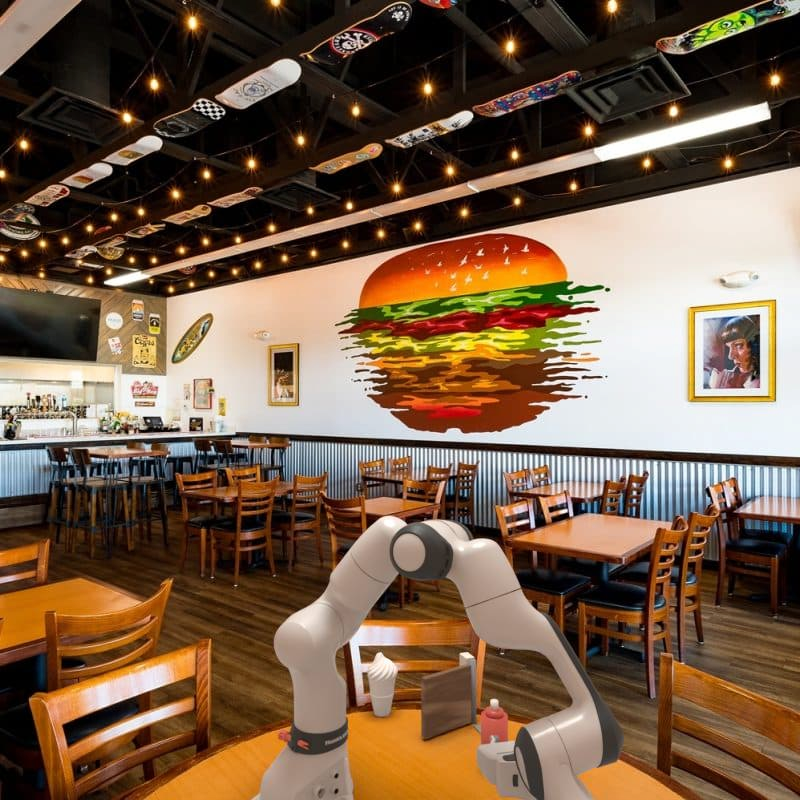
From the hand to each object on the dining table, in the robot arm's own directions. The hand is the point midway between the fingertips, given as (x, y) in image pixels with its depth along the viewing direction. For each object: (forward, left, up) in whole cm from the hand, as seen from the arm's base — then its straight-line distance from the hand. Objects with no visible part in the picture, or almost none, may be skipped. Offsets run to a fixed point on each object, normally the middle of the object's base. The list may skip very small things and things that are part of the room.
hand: (515, 736), depth 125 cm
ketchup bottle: (+8, +9, -13) cm, 18 cm away
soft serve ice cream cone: (+12, +46, -13) cm, 50 cm away
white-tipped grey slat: (+20, +20, -13) cm, 31 cm away
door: (+15, +28, -13) cm, 34 cm away
